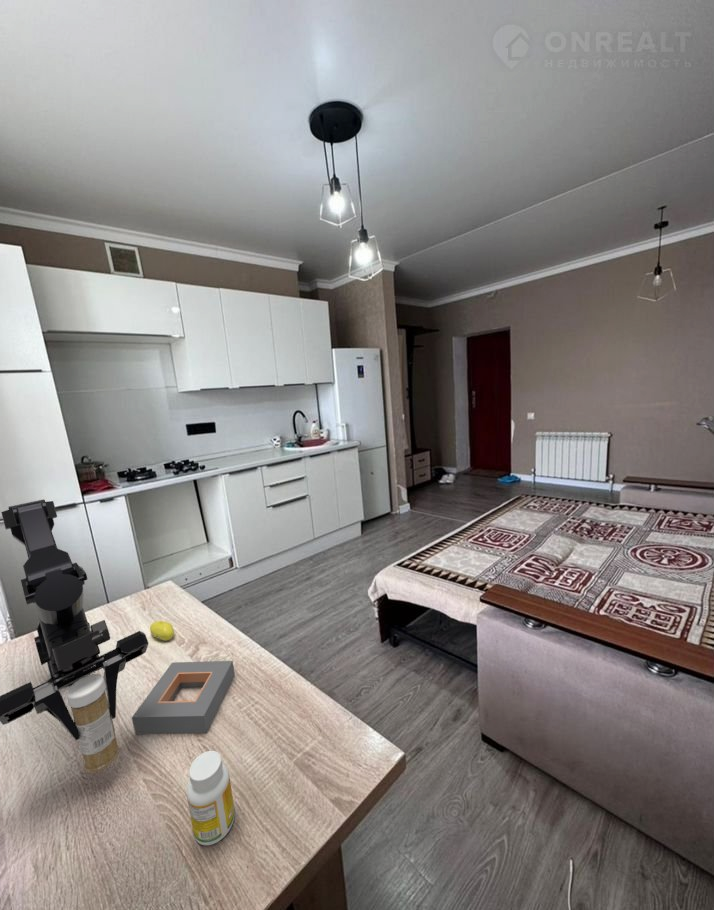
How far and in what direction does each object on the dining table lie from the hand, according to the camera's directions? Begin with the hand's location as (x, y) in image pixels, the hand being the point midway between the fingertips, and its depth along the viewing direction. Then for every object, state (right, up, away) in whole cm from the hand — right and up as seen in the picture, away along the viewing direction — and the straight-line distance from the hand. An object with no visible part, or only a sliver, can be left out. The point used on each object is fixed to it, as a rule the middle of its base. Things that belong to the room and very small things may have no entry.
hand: (96, 728), depth 55 cm
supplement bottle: (+19, -10, -4) cm, 22 cm away
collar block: (+7, -7, +16) cm, 19 cm away
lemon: (-9, -5, +37) cm, 38 cm away
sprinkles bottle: (-1, -7, +2) cm, 7 cm away
